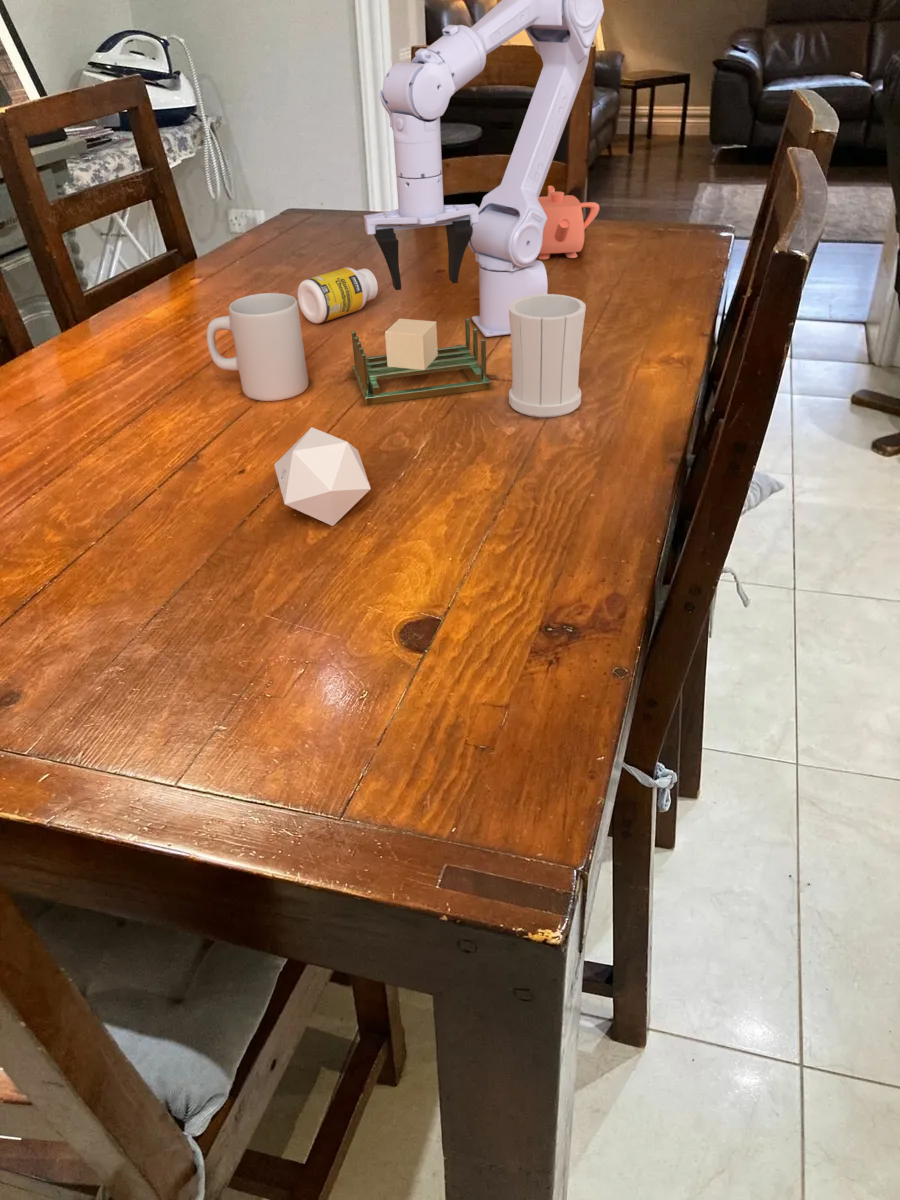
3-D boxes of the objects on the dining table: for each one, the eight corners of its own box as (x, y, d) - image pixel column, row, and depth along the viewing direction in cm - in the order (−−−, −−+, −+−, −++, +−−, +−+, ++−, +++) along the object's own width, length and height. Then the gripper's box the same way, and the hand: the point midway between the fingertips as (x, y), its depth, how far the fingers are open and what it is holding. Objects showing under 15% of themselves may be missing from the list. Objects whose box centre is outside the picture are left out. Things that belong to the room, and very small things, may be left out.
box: (401, 352, 122) (399, 318, 119) (437, 355, 120) (436, 321, 118) (387, 366, 118) (384, 331, 115) (424, 370, 116) (422, 335, 114)
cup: (490, 392, 117) (489, 297, 110) (554, 379, 120) (557, 285, 113) (528, 425, 109) (530, 323, 102) (596, 409, 112) (602, 310, 105)
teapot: (609, 253, 164) (612, 191, 158) (563, 268, 158) (565, 205, 152) (549, 239, 173) (550, 180, 167) (503, 253, 167) (503, 192, 161)
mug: (313, 374, 124) (302, 291, 118) (304, 400, 117) (292, 313, 111) (223, 377, 124) (207, 294, 118) (209, 403, 117) (192, 317, 111)
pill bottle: (310, 274, 135) (371, 255, 141) (289, 288, 140) (348, 269, 146) (328, 318, 136) (387, 297, 143) (307, 330, 141) (365, 309, 148)
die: (305, 490, 99) (247, 442, 91) (374, 448, 97) (321, 395, 89) (322, 552, 95) (263, 508, 87) (396, 509, 93) (342, 459, 85)
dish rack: (469, 358, 127) (468, 314, 123) (490, 389, 118) (490, 343, 114) (352, 372, 124) (348, 328, 120) (366, 405, 115) (361, 358, 112)
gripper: (367, 186, 111) (377, 300, 119) (484, 174, 114) (486, 286, 122) (357, 174, 117) (367, 283, 125) (469, 163, 119) (472, 271, 127)
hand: (425, 284), depth 123 cm, fingers open, 7 cm apart
